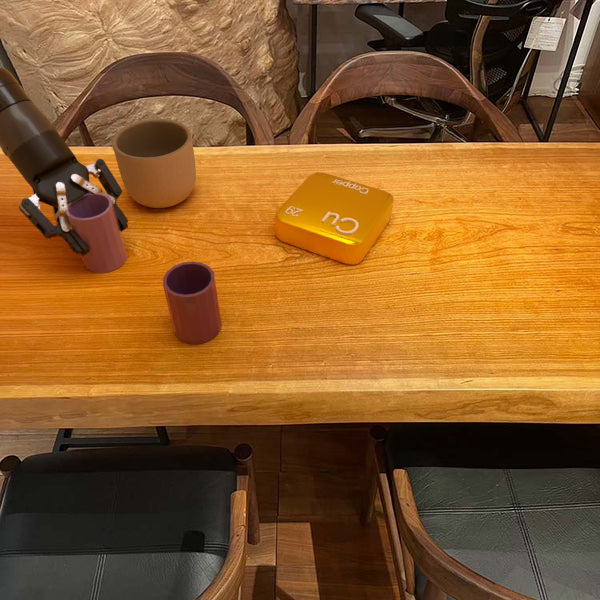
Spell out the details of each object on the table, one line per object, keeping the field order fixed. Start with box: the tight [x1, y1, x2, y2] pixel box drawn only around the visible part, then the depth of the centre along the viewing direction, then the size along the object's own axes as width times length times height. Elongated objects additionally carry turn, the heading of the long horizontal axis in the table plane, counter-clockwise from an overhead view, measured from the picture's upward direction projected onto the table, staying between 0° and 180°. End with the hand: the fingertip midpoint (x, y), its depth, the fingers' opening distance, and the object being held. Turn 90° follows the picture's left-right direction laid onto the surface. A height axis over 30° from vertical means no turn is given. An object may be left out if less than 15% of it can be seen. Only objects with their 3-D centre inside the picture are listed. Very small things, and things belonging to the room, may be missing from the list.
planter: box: [111, 117, 197, 209], centre depth 97 cm, size 12×12×11 cm
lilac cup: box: [65, 193, 128, 274], centre depth 86 cm, size 6×6×10 cm
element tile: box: [274, 171, 394, 265], centre depth 93 cm, size 15×15×5 cm
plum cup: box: [162, 261, 222, 345], centre depth 77 cm, size 6×6×9 cm
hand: (105, 240), depth 86 cm, fingers closed on lilac cup, 6 cm apart
